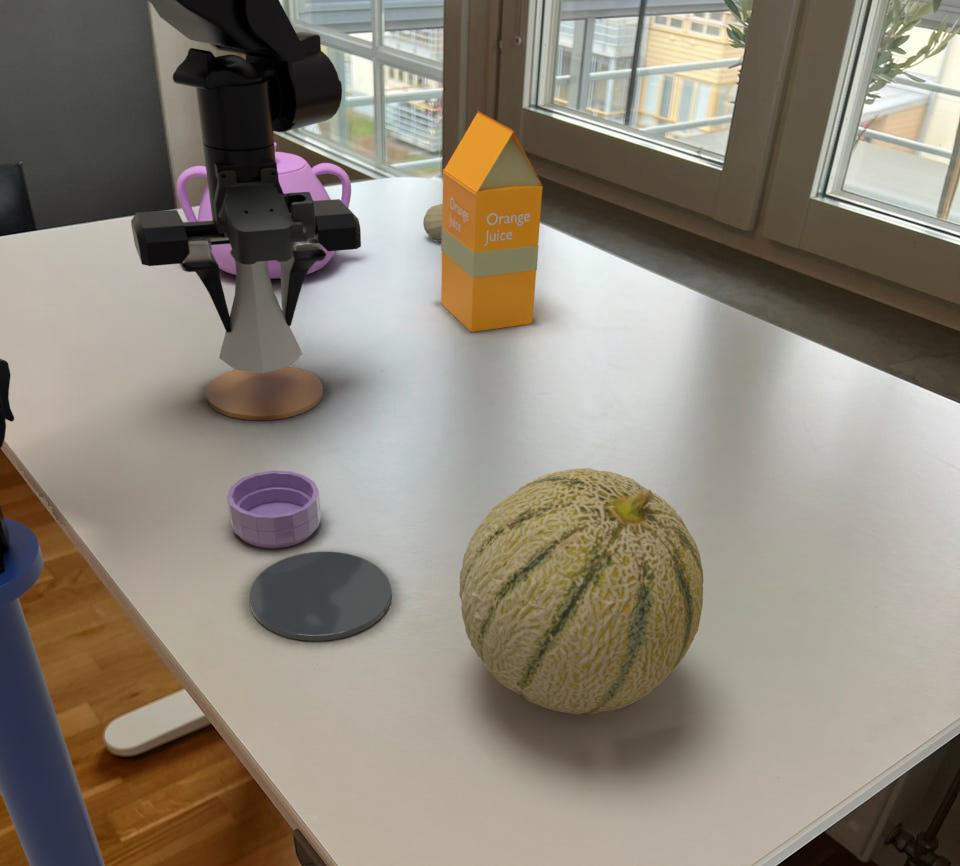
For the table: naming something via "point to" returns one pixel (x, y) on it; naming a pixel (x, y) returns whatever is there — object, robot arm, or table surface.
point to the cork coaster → (264, 393)
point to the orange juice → (490, 229)
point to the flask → (257, 324)
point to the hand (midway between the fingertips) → (257, 327)
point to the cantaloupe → (581, 591)
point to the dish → (274, 508)
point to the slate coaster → (320, 596)
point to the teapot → (292, 180)
